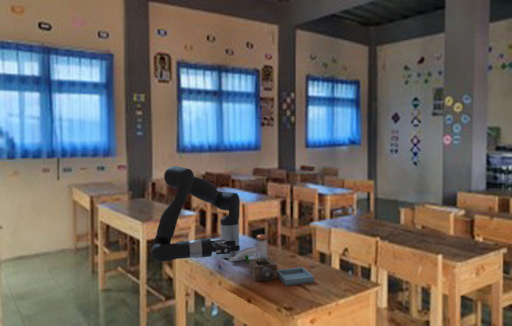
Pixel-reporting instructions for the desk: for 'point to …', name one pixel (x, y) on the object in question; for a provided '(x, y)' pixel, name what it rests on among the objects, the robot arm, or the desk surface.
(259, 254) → the pin
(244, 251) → the tabbed white plastic disc
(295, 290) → the desk surface
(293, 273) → the tray
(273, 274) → the block
